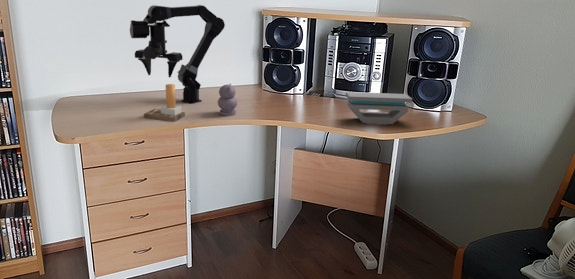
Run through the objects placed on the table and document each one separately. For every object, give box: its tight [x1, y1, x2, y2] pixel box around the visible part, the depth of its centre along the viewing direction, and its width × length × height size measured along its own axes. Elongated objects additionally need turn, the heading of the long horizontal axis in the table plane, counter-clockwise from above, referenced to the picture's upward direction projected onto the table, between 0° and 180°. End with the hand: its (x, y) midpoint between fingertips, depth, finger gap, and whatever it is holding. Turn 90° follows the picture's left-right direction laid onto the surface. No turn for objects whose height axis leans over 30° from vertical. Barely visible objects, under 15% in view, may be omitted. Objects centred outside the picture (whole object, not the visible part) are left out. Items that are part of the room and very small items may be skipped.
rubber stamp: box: [160, 83, 182, 116], centre depth 167 cm, size 5×6×11 cm
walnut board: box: [143, 108, 186, 122], centre depth 168 cm, size 8×13×2 cm, turn 77°
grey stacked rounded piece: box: [217, 83, 238, 117], centre depth 175 cm, size 8×8×12 cm
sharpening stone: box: [345, 91, 413, 125], centre depth 176 cm, size 25×8×11 cm, turn 94°
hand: (159, 76), depth 181 cm, fingers open, 9 cm apart
